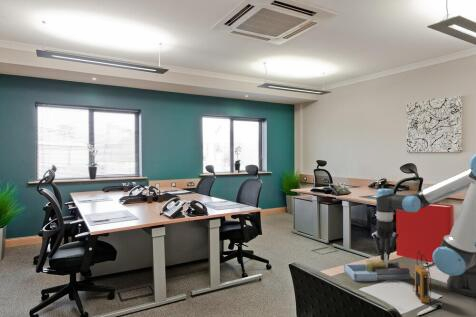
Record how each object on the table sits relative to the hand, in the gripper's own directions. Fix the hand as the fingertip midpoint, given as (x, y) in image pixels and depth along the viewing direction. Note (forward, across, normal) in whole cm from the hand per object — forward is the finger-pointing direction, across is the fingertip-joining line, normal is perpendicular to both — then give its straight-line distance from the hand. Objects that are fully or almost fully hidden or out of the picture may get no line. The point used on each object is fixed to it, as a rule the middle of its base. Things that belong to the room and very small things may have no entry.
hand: (384, 266), depth 154 cm
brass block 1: (+2, +7, 0) cm, 7 cm away
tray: (+4, +13, 0) cm, 14 cm away
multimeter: (+4, -6, +27) cm, 28 cm away
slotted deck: (+4, -1, 0) cm, 4 cm away
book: (+4, -34, -21) cm, 40 cm away
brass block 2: (+2, +3, 0) cm, 3 cm away
